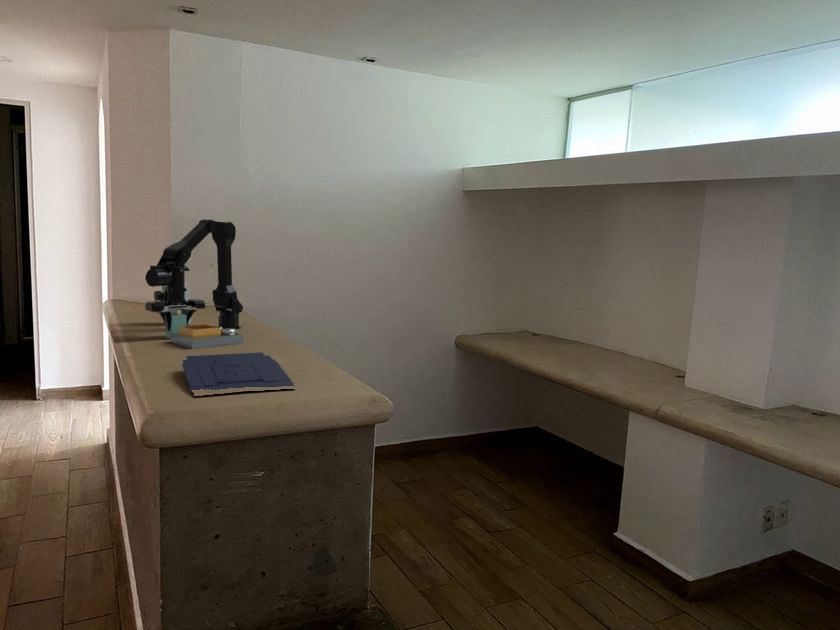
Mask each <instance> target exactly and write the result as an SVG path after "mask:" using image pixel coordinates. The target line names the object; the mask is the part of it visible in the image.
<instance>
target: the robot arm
mask: <svg viewBox="0 0 840 630" xmlns="http://www.w3.org/2000/svg"><path fill="white" fill-rule="evenodd" d="M236 233H237V229H236V225H235V224H234V223H233V222H231V221H216V220H214V219H205V218H204V219H200V220H199V221H198V224H196V226H194V227H193V229H191V230H189V232H188V233H187V234H186V235H185V236H184V237H183V238H181V240H180V241H178V242H174V243H172V244H170V245H169V246H167V247H165V248H164V250H163V251H162V255H161V257H160V259H159V260H158V262H157V264H156V265H150V266H149V270H147V272H146V275H145V281H146V284H147V285H148V286H149V287H153V288H155V287H162V286H166V285H167V287H165V292H163V293H162V290H155V291H154V292H153V293H154V294H153V299H154V301H146V303H145V311H147V312H148V311H149V312H151V313H158V314H159V315H160V317H161V318H162V321H163V323H164V325H165V329H166V328H167V331H170V325H171V312H169V311H168V308H182V307H183V309H181V310H182V314H185V315H187V325H189V324H188V322H189V320H190V318H191V319H192V316H193V315H194V313H195V312H197V310H199V309H200V310H201V309H203V310H204V309H206V302H205V300H203V299H200V298H199V299H198V298H193V299H191V298H190V299H189V300H188V301H187V300H185V291H186V288H185V283H186V282H185V281H186V278H185V276H186V275H185V273H186V272H190V268H189V267H187V266H186V263H187V262H188V261H189V259H190V258H191V257H192V252H193V250H194V249H195V248H196V247H198V245H199V244H200V243H201V242H202V241H204V240H205V238H206V237H207V236H209V234H211V238H212V241H213V242H214V244H215V246H216V252H217V254H216V257H217V283H218V284H217V286H216V288H215V289H212V300H211V301H213V304H214V307H215V310H216V312H219V316H218V326H220V327H222V328H234V329H241V328H242V327H241V325H240V323H239V322H240V316H239V315H240V313H243V309H244V306H243V304H242V303H241V302H240V301H239V299H238V293H237V290H236V289H235V287H234V286H233V271H232V270H233V269H232V246H233V244H234V241H235V240H236Z"/></svg>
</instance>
